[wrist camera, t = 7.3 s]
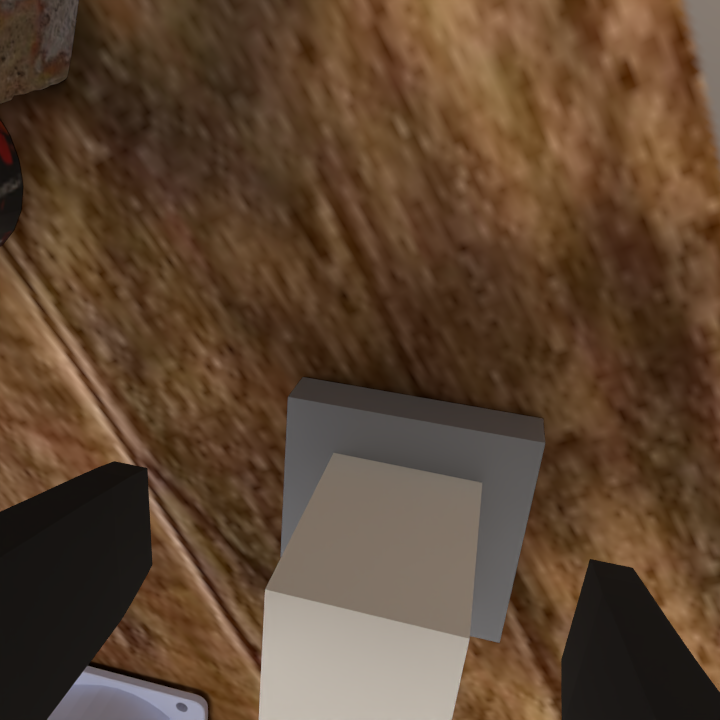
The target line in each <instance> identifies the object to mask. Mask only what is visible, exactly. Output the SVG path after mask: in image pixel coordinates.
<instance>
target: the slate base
mask: <svg viewBox="0 0 720 720" xmlns="http://www.w3.org/2000/svg"><path fill="white" fill-rule="evenodd" d="M544 447H545V433H544V422H543V418H537V417H531V416H526V415H520V414H514V413H508V412H503V411H497V410H491V409H485V408H479V407H474V406H468V405H462V404H456V403H451V402H445V401H439V400H433V399H427V398H422V397H416V396H410V395H404V394H399V393H393V392H387V391H381V390H376V389H370V388H364V387H358V386H352V385H347V384H341V383H335V382H329V381H324V380H318V379H312V378H306V377H302V379H301V380H300V381H299V383H298V384H297V385H296V387H295V388H294V389H293V391H292V392H291V393H290V395H289V396H288V407H287V428H286V450H285V472H284V494H283V515H282V537H281V557H282V555H283V553H284V551H285V549H286V547H287V545H288V543H289V541H290V539H291V537H292V535H293V533H294V531H295V529H296V527H297V525H298V523H299V521H300V519H301V517H302V515H303V513H304V511H305V509H306V507H307V505H308V503H309V501H310V499H311V497H312V495H313V493H314V491H315V489H316V487H317V485H318V483H319V481H320V479H321V477H322V475H323V473H324V471H325V469H326V467H327V465H328V463H329V461H330V459H331V457H332V455H333V453H337V454H342V455H347V456H352V457H357V458H362V459H367V460H372V461H377V462H382V463H387V464H392V465H397V466H402V467H407V468H412V469H417V470H422V471H427V472H432V473H437V474H442V475H446V476H451V477H456V478H461V479H466V480H471V481H476V482H481V483H482V493H481V505H480V517H479V529H478V541H477V554H476V566H475V578H474V590H473V602H472V614H471V627H470V636H472V637H477V638H481V639H485V640H490V641H494V642H498V643H500V638H501V634H502V630H503V625H504V621H505V617H506V612H507V608H508V604H509V599H510V595H511V591H512V586H513V582H514V577H515V573H516V569H517V564H518V560H519V556H520V551H521V547H522V543H523V538H524V534H525V530H526V525H527V521H528V516H529V512H530V508H531V503H532V499H533V495H534V490H535V486H536V482H537V477H538V473H539V468H540V464H541V460H542V455H543V451H544Z"/></svg>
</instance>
